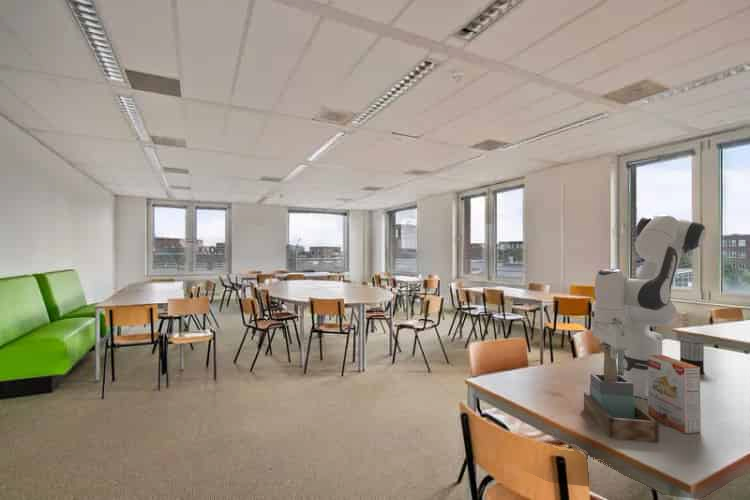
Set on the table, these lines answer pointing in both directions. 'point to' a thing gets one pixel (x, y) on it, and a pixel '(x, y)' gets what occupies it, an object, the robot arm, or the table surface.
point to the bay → (623, 423)
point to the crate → (614, 396)
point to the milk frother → (692, 352)
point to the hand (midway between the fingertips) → (609, 356)
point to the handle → (609, 364)
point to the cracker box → (674, 393)
